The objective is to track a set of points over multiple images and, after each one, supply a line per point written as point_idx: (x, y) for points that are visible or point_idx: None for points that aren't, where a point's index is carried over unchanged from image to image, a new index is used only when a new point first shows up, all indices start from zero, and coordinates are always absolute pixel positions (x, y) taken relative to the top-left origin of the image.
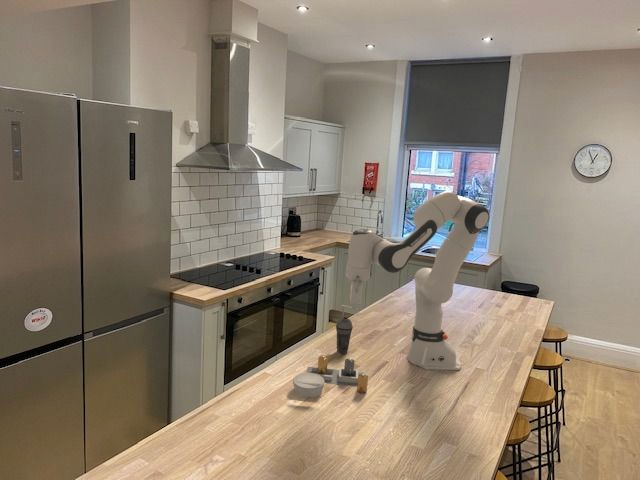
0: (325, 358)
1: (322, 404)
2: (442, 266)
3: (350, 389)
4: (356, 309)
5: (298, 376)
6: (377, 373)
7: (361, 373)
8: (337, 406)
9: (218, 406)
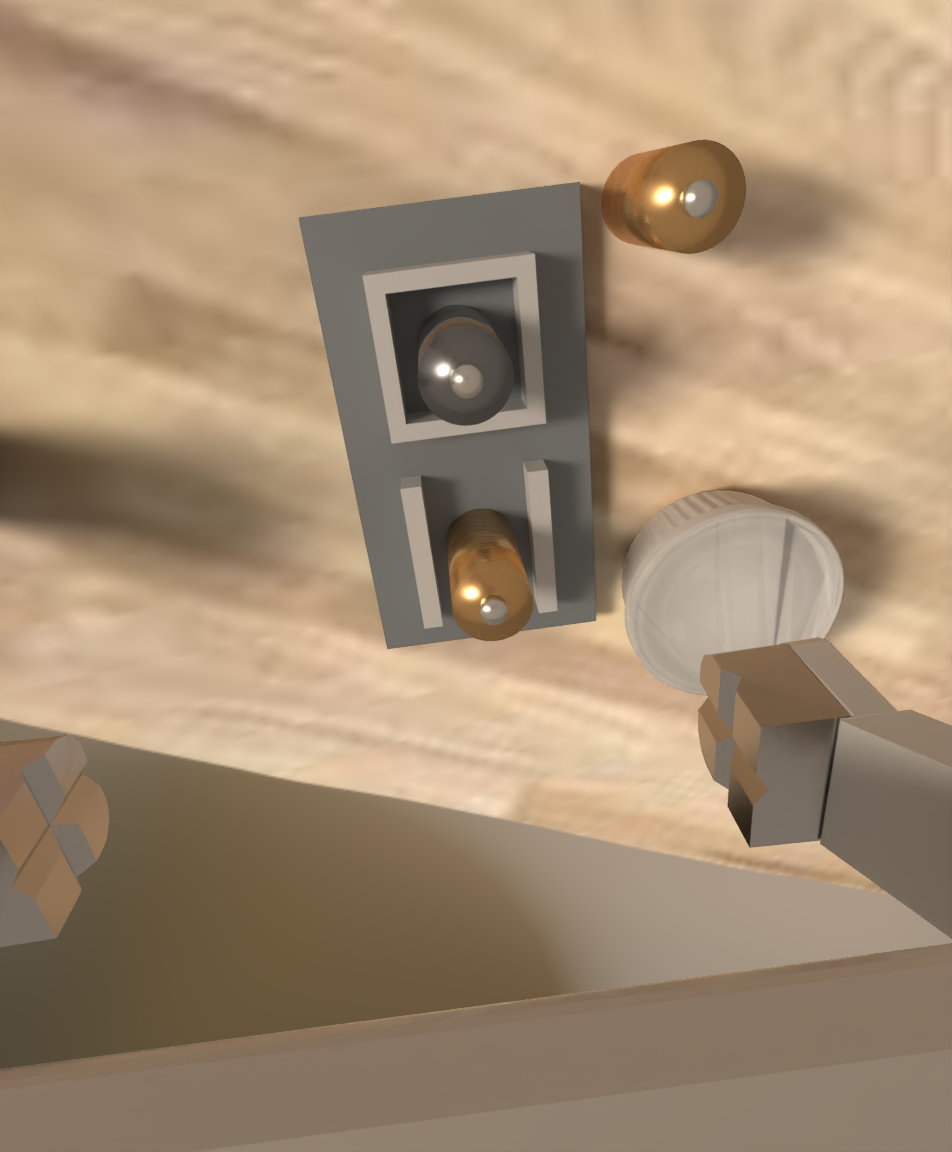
0: (496, 588)
1: (822, 456)
2: None
3: (586, 301)
4: (908, 714)
5: (698, 677)
6: (199, 71)
7: (329, 238)
8: (839, 358)
9: None
